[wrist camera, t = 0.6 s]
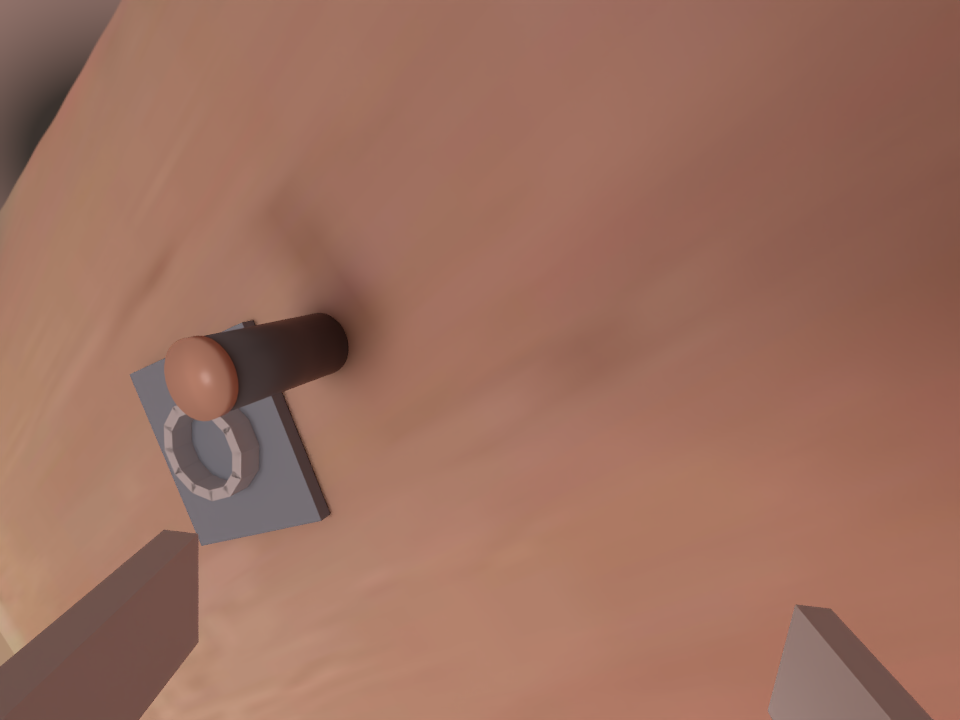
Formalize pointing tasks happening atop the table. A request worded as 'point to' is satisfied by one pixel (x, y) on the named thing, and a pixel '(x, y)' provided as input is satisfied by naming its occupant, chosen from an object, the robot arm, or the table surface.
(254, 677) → the table surface
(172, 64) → the table surface
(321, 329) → the canister
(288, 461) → the board
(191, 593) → the robot arm
